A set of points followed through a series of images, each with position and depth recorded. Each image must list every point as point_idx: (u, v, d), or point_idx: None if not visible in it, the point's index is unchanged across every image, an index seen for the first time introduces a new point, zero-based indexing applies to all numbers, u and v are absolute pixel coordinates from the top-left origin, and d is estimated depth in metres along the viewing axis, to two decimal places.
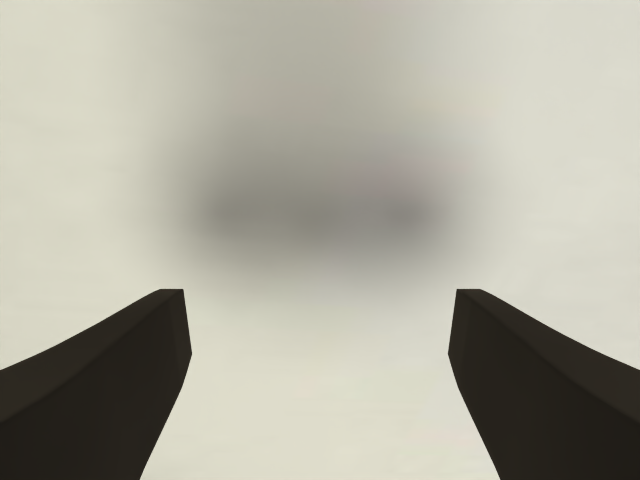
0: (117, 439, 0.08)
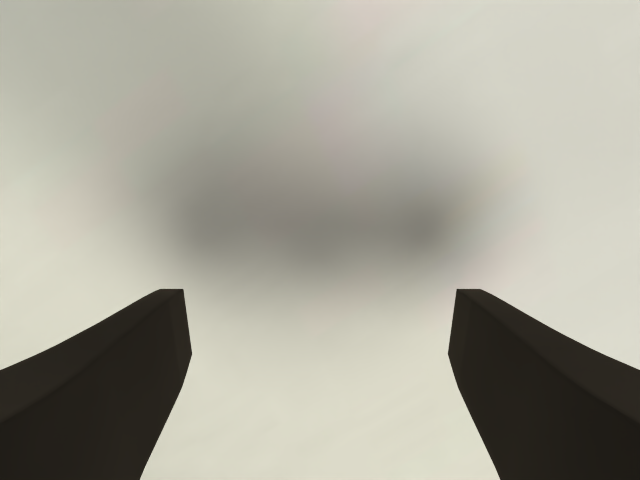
0: (117, 439, 0.08)
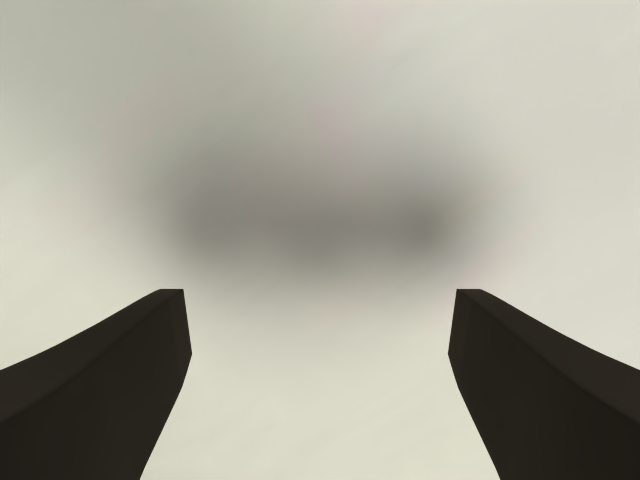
0: (117, 439, 0.08)
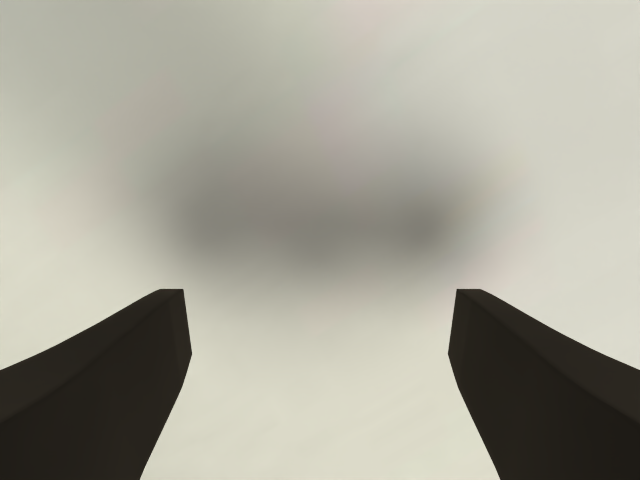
0: (117, 439, 0.08)
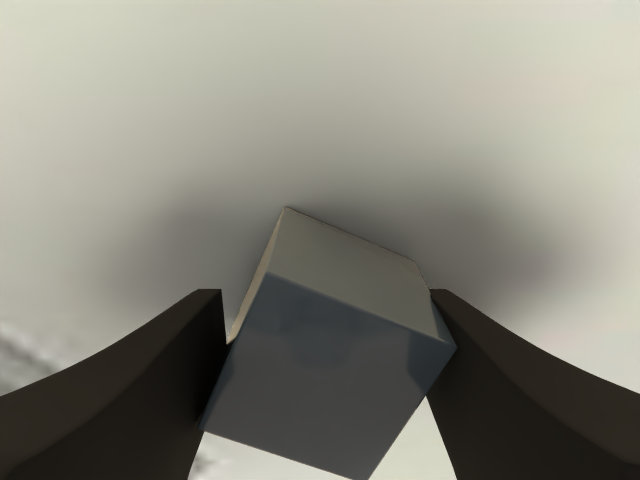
0: (170, 439, 0.08)
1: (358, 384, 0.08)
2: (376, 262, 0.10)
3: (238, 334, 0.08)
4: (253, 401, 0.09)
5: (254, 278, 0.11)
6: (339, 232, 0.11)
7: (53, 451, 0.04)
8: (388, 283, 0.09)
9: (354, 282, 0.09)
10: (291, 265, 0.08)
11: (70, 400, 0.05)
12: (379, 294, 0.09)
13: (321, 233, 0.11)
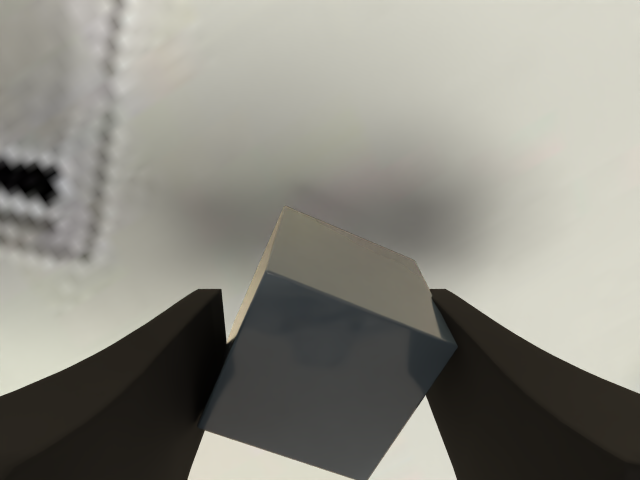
0: (170, 439, 0.08)
1: (358, 383, 0.08)
2: (376, 261, 0.10)
3: (238, 333, 0.08)
4: (254, 400, 0.09)
5: (254, 277, 0.11)
6: (339, 231, 0.11)
7: (53, 451, 0.04)
8: (388, 282, 0.09)
9: (354, 281, 0.09)
10: (291, 264, 0.08)
11: (71, 400, 0.05)
12: (379, 293, 0.09)
13: (321, 232, 0.11)
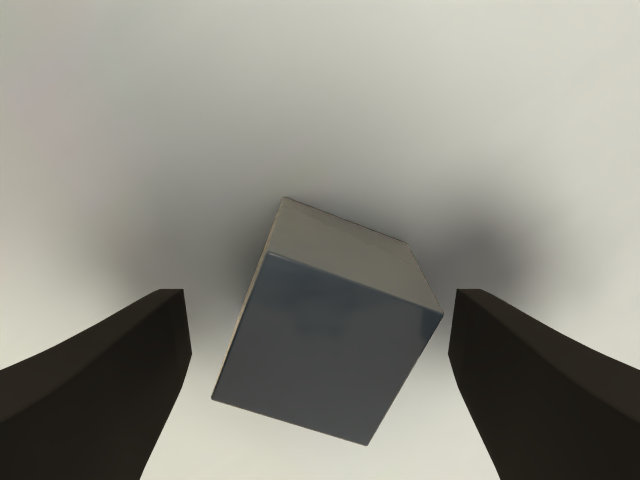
0: (117, 439, 0.08)
1: (355, 352, 0.09)
2: (370, 244, 0.11)
3: (244, 309, 0.09)
4: (261, 371, 0.09)
5: (258, 264, 0.12)
6: (335, 219, 0.12)
7: None
8: (380, 261, 0.10)
9: (348, 260, 0.09)
10: (290, 245, 0.09)
11: None
12: (371, 270, 0.09)
13: (318, 219, 0.11)
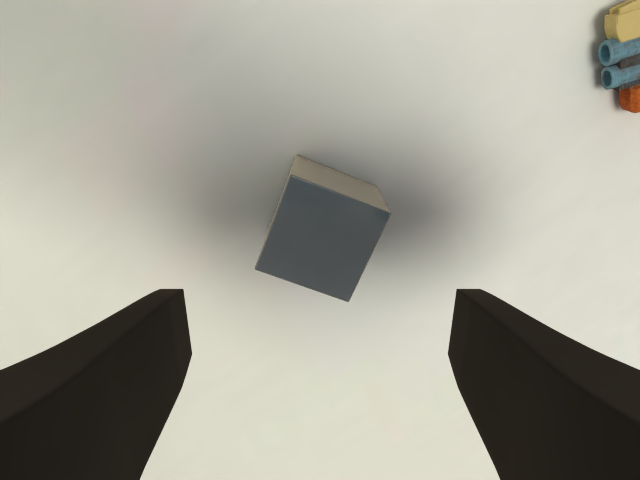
0: (117, 439, 0.08)
1: (340, 237, 0.16)
2: (351, 182, 0.18)
3: (277, 210, 0.15)
4: (285, 250, 0.16)
5: None
6: (329, 169, 0.19)
7: None
8: (356, 189, 0.17)
9: (336, 185, 0.16)
10: (302, 174, 0.16)
11: None
12: (350, 191, 0.16)
13: (318, 167, 0.18)
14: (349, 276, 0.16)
